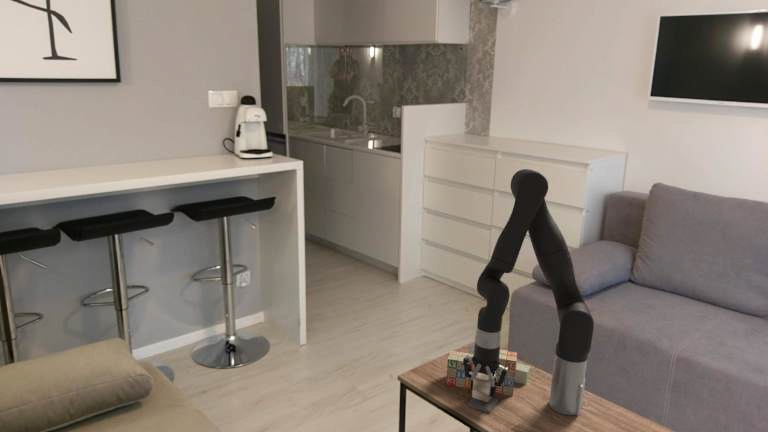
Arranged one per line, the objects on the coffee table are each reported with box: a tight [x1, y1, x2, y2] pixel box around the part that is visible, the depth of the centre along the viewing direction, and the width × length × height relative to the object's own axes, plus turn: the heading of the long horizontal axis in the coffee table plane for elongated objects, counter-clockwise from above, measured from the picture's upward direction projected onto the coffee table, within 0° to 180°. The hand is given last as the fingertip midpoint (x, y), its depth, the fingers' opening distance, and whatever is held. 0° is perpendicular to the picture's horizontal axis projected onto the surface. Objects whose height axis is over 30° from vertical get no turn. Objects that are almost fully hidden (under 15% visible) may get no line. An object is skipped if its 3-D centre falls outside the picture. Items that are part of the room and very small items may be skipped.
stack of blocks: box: [445, 348, 518, 397], centre depth 187 cm, size 21×6×12 cm, turn 75°
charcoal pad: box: [467, 397, 498, 414], centre depth 178 cm, size 7×7×1 cm
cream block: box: [471, 373, 492, 402], centre depth 177 cm, size 5×5×6 cm
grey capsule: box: [467, 345, 475, 354], centre depth 201 cm, size 4×4×6 cm
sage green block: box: [514, 362, 532, 386], centre depth 193 cm, size 4×4×4 cm
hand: (482, 393), depth 178 cm, fingers closed on cream block, 5 cm apart
